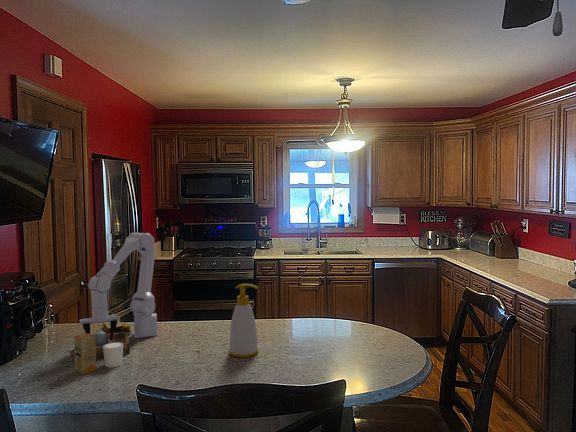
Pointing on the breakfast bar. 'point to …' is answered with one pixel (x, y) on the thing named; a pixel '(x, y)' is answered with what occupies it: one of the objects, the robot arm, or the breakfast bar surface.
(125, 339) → the box with square hole
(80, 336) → the shoe polish box
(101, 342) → the peg
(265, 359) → the breakfast bar surface
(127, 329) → the toy sandwich meal
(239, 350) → the soap bottle
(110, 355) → the white cup
